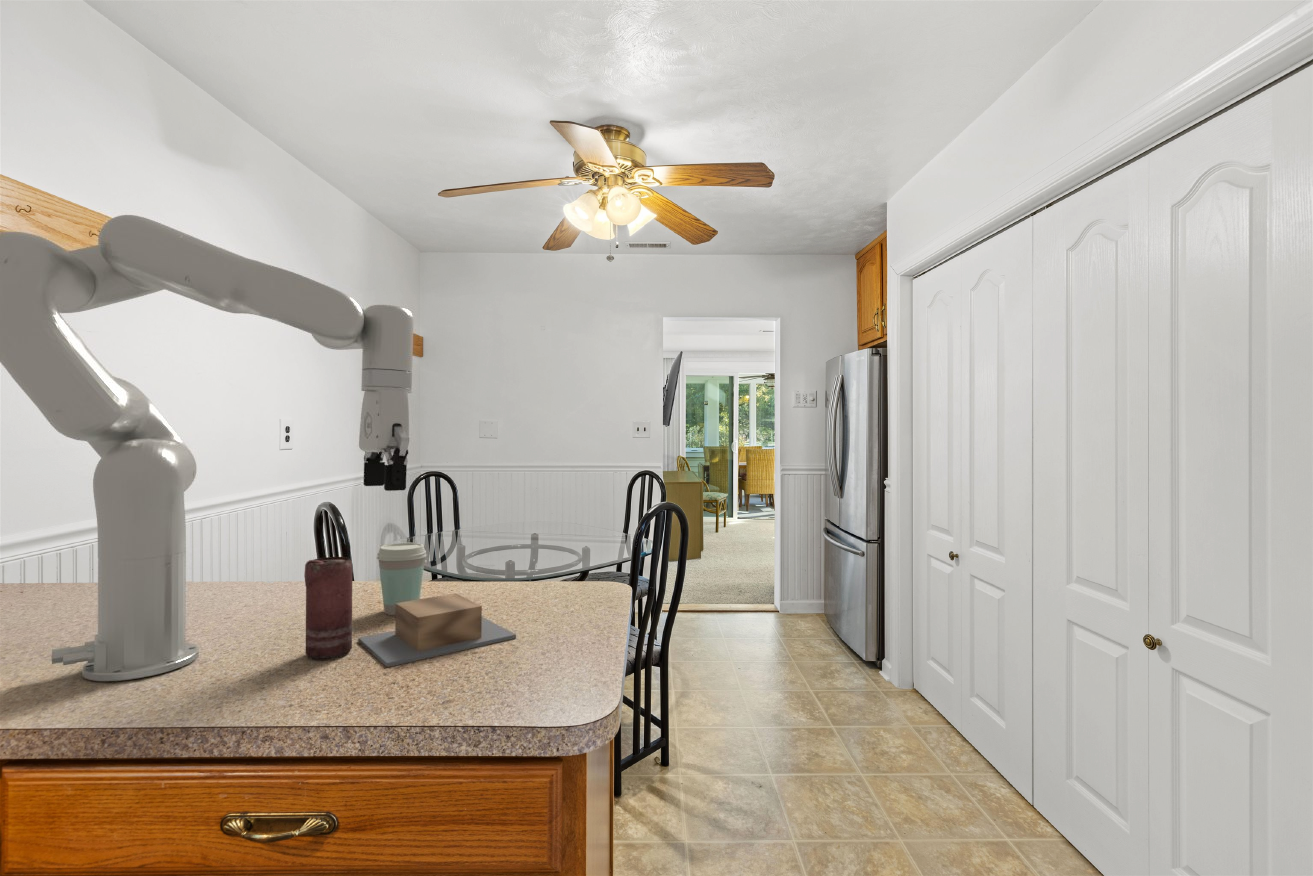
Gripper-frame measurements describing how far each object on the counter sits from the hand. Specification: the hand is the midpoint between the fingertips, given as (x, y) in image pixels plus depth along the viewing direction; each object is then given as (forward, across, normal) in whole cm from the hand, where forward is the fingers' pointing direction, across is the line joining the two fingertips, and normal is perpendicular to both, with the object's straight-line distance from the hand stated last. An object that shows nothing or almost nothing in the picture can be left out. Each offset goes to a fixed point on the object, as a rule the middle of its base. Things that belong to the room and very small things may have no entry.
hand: (384, 487), depth 102 cm
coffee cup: (+24, -11, +8) cm, 28 cm away
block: (+23, +9, +6) cm, 25 cm away
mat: (+24, +9, +6) cm, 26 cm away
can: (+24, +4, -9) cm, 26 cm away
